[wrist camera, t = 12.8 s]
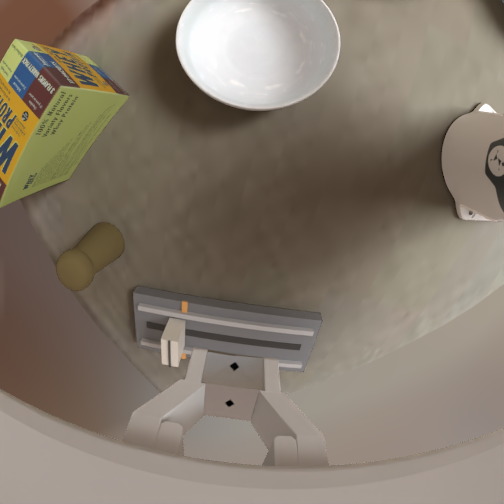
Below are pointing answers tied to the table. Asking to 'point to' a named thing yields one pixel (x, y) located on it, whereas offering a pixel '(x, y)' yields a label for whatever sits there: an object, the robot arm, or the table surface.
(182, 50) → the cereal bowl
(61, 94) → the protein box
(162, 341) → the fader tab
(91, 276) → the cork
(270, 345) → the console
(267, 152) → the table surface
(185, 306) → the pair of orange ticks
